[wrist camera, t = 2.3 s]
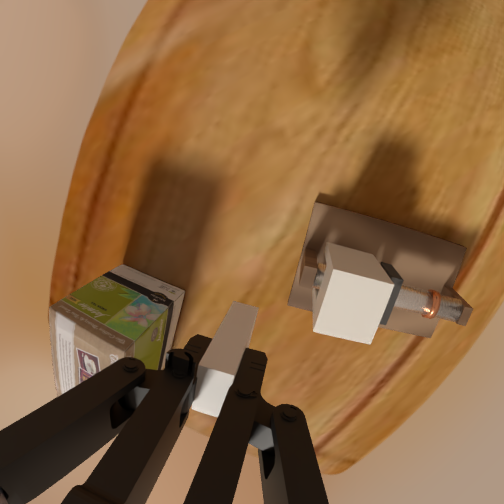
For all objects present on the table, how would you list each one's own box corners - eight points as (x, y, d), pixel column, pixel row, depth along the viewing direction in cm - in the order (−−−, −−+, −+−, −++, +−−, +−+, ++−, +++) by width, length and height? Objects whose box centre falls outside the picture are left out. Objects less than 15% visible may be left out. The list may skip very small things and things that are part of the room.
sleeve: (326, 241, 31) (333, 269, 22) (373, 254, 30) (394, 284, 22) (312, 290, 32) (312, 331, 24) (357, 302, 32) (370, 344, 24)
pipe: (319, 256, 30) (320, 265, 27) (456, 292, 28) (467, 303, 25) (311, 283, 31) (311, 294, 28) (446, 316, 29) (455, 328, 26)
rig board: (314, 201, 33) (316, 210, 26) (463, 246, 31) (492, 263, 24) (288, 301, 36) (282, 331, 30) (428, 334, 34) (446, 365, 28)
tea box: (120, 261, 39) (45, 304, 25) (187, 289, 38) (128, 351, 24) (110, 346, 44) (54, 401, 30) (167, 374, 43) (121, 442, 29)
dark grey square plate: (380, 261, 30) (392, 276, 25) (391, 264, 30) (403, 280, 25) (366, 302, 31) (374, 322, 27) (376, 305, 31) (386, 325, 26)
